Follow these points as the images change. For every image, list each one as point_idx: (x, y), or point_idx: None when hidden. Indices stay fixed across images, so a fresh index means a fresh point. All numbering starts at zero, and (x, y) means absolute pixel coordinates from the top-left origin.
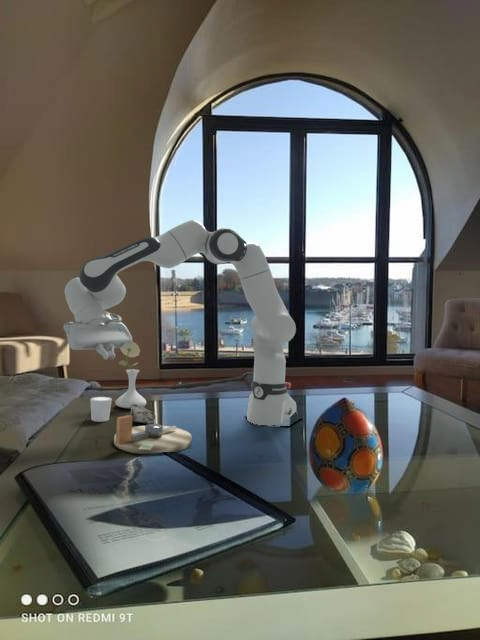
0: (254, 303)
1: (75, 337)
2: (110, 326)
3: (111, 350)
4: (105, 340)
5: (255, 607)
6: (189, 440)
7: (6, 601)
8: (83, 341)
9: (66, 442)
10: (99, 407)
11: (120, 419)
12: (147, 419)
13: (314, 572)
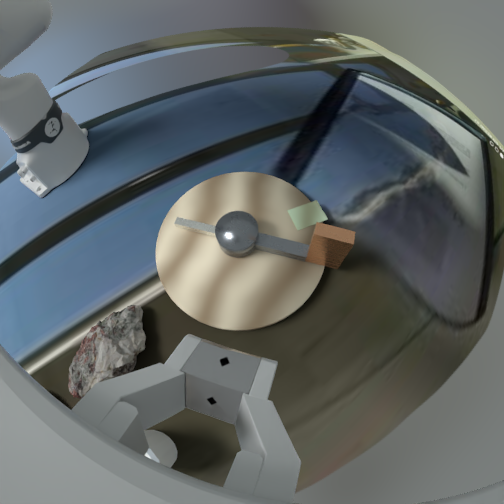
0: None
1: None
2: None
3: (168, 385)
4: (160, 490)
5: (431, 83)
6: (227, 174)
7: None
8: (496, 495)
9: (353, 395)
10: (162, 452)
11: (353, 233)
12: (135, 318)
13: (391, 65)
